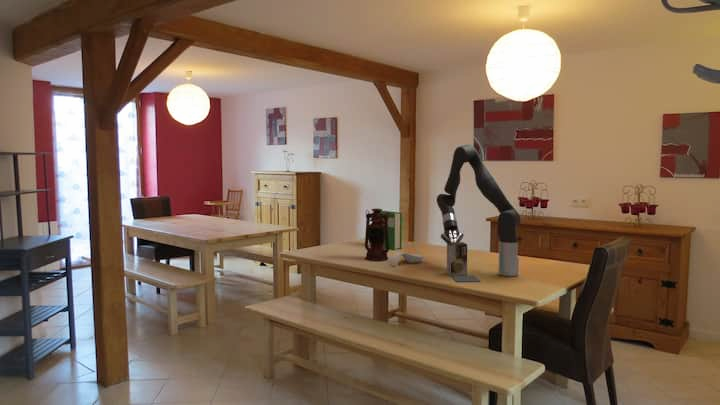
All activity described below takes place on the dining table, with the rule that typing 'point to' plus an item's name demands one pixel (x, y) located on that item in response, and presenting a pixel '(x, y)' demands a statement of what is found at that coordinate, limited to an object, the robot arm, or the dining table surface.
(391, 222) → the hardback book
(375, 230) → the lantern
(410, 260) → the spoon rest
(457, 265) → the coffee box
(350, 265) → the dining table surface
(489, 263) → the dining table surface
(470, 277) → the mat
